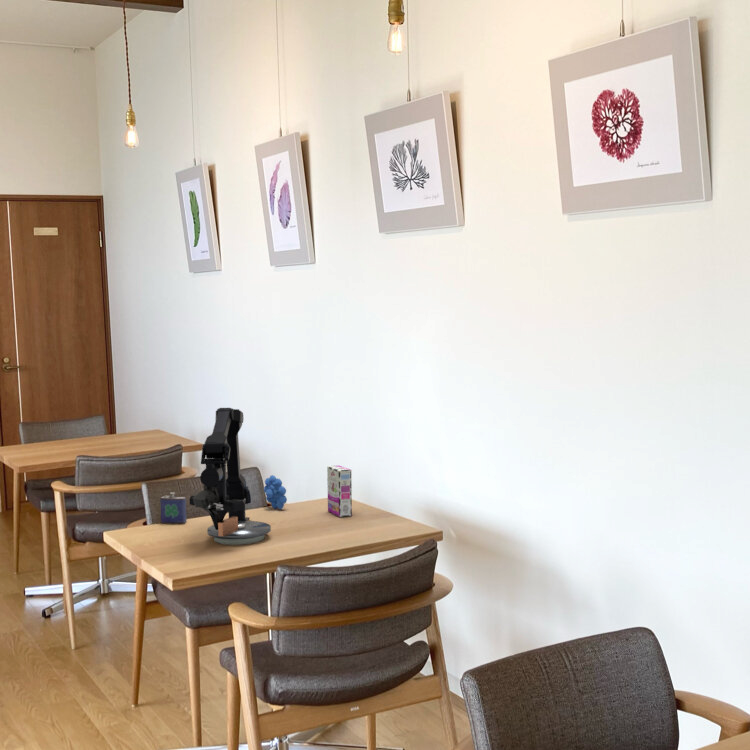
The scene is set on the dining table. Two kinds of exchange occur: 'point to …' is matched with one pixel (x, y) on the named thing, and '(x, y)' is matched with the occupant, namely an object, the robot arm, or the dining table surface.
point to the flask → (173, 509)
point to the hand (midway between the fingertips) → (217, 529)
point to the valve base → (239, 540)
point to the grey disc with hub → (238, 529)
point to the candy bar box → (339, 491)
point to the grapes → (275, 492)
